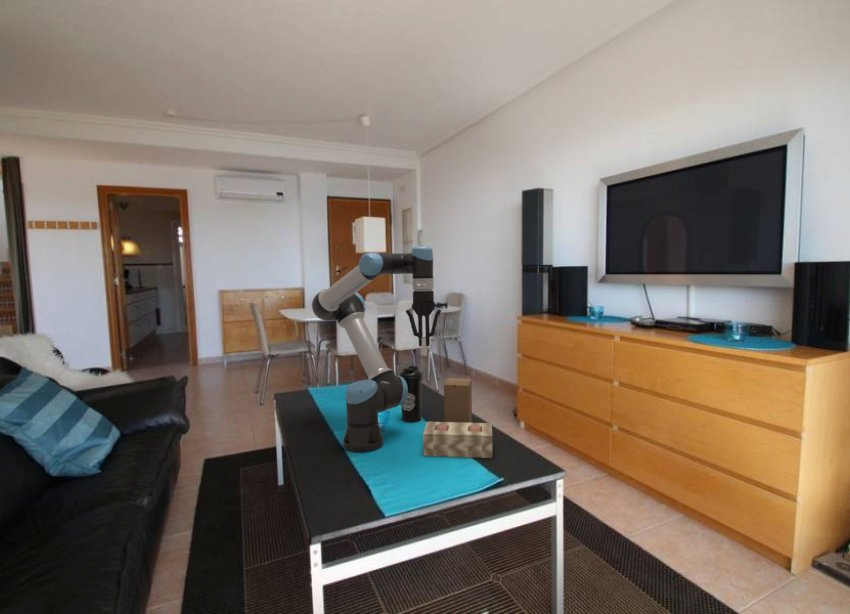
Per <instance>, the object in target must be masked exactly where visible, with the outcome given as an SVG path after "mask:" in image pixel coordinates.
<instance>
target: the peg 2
mask: <svg viewBox="0 0 850 614" xmlns="http://www.w3.org/2000/svg"><path fill="white" fill-rule="evenodd" d="M469 431H476V432H481V427H480V426H479V425H471V426H469Z"/></svg>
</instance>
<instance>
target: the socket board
mask: <svg viewBox="0 0 850 614" xmlns="http://www.w3.org/2000/svg"><path fill="white" fill-rule="evenodd" d="M425 424H426V425H425V427H424V430H423V433H422V440H423V445H422V447H423V456H424V457H427V456H428V457H445V458H446V457H449V458H453V457H454V458H477V459H478V458H482V459H493V428H492V427H493V425H492V423H491V422H472V423H461V422H445V421H426V423H425ZM438 424H445V425H447V431H440V430H436V425H438ZM471 425H479V426H480V427H481V432H476V431H469V426H471Z"/></svg>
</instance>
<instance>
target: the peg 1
mask: <svg viewBox="0 0 850 614" xmlns="http://www.w3.org/2000/svg"><path fill="white" fill-rule="evenodd" d="M436 430H440V431H447V425H445V424H438V425H436Z"/></svg>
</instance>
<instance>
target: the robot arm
mask: <svg viewBox="0 0 850 614" xmlns="http://www.w3.org/2000/svg"><path fill="white" fill-rule="evenodd" d="M405 274H407V275H412V289H413V291H412V304H411V307H409V308H408V309H406V310H405V313H406V314H407V316H408V318H409V319H408V320H409V323H410V326H411V330H412V335H413V336H414V337H417V338H418V346H419V347H421V356H422V357H427V355H428V347H430V345H431V338H430V337H434V336H435V334H436V329H437V324H438V320H439V316H440V314H441V312H442V309H440V308H439V307H437V306H436V303H435V294H434V292H435V291H434V288H435V285H434V284H435V283H434V281H435V280H434V253H433V248H432V247H431V246H414V247H411V252H409V253H408V252H405V253H404V252H401V253H397V252H395V253H392V252H390V253H387V252H386V253H383V252H382V253H381V252H378V253H377V252H368V253H364V254H362V255H361V256H360V259H359V260H358V265H357V266H355V267H354V268H353V269H351V270H350V271H349V272H348V273H346V274H345V275H344V276H342V277H341V278H340V279H339V280H337V281H336V282H335V283H333V284H332V285H331V286H330V287H328V288H324V289H322V290H321V291H319V292H318V293H317V294H316V295H315V296H314V297H313V299H312V303H311V309H312V312H313V313H314V315H315V317H317V318H318V319H319V320H322V321H325V322H326V321H327V322H329V321H331V322H332V321H337V323H338V325H339V327H340V328H343V329H344V330H345V332H346V334H347V336H348V338H349V340H350V342H351V344H352V346H353V348H354V350H355V352H356V355H357V356H358V359H359V361H360V362H361V365H362V366H363V369H364V370H365V371H364V372H365V373H366V374H367V377H368V379H364V380H358V381H354V382H353V383H350V384H349V385H348V386H347V387H346V390H345V404H346V405H345V406H346V429H345V430H344V431H345V432H344V436H343V438H342V446H343V448H344V449H345V450H346V451H348V452H350V453H351V452H352V453H367V452H368V453H369V452H372V451H376V450H378V449H380V448H381V447H382V446H383V445H384V435H383V432H382V430H381V427H380V424H379V413H383V412H385V411H387V410H389V409H393V408H397V407H399V406H401V404H402V403H404V401H405V400H406V398H407V393H408V387H407V383H406V381H405V380H404V378H403V377H401V376H399V375H397V374H396V372H395V371H394V369H392V368H389V367H388V366H387V363H386V362H385V360H384V358H383V356H382V353H381V352H380V350H379V348H378V346H377V344H376V342H375V339H374V338H373V336H372V334H371V332H370V330H369V328H368V326H367V324H366V322H365V320H364V319H365V315H366V314H365V313H366V307H365V306H366V303H365V300H364V298H363V296H362V295H361V294H360V293H359V291H360V290H361V289H364V287H366V286H367V285H368V284H369V283H371V282H373V281H374V280H377V278H378V277H379V276H382V275H383V276H384V275H405ZM414 313H415V314H416V315H417V325H418V327H417V325H416V320H415V317H414ZM432 313H434V316H433V321H432V327H431V329H430V325H431V324H430V315H431V314H432ZM423 317H424V320H425V321H424V323H425V327H424V328H425V336H424V334H423V331H424V329H423ZM417 328H418V329H417Z"/></svg>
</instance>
